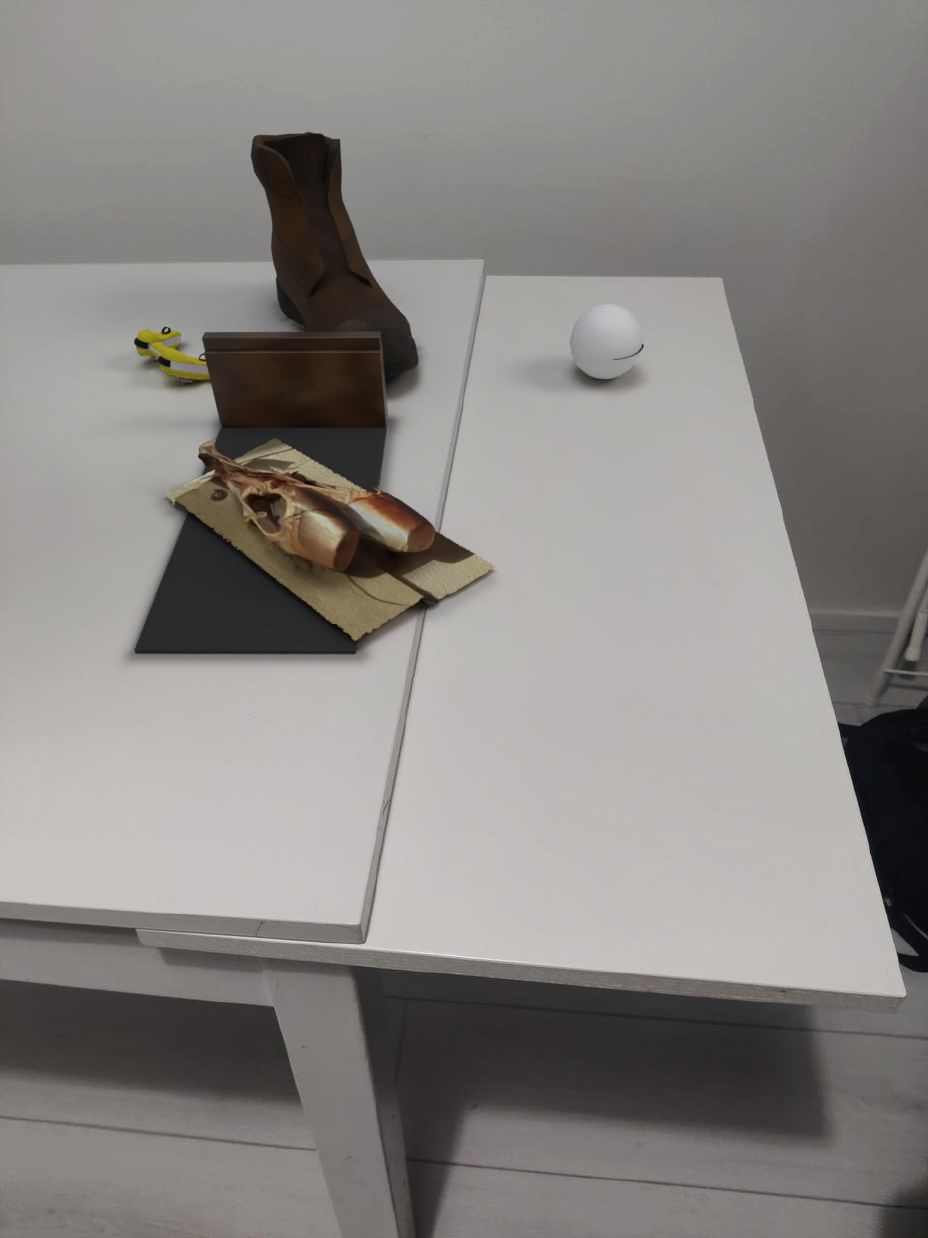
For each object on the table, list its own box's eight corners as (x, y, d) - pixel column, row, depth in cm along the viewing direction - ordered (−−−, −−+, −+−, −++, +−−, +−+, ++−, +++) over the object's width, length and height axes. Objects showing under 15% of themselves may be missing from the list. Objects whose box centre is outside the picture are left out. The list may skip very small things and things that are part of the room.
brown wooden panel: (221, 429, 85) (200, 339, 78) (225, 418, 86) (205, 329, 80) (386, 428, 84) (379, 339, 78) (388, 417, 86) (381, 329, 79)
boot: (350, 411, 87) (326, 201, 73) (256, 296, 106) (223, 112, 92) (449, 384, 90) (444, 179, 76) (341, 277, 109) (322, 97, 95)
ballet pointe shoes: (364, 596, 58) (127, 441, 71) (374, 663, 62) (150, 506, 76) (498, 498, 64) (259, 374, 78) (498, 565, 69) (272, 437, 83)
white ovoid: (595, 400, 88) (602, 330, 83) (553, 368, 92) (557, 301, 87) (673, 374, 91) (684, 306, 86) (629, 345, 96) (637, 279, 91)
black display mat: (135, 653, 63) (134, 650, 63) (221, 430, 84) (220, 427, 84) (355, 653, 63) (355, 650, 63) (386, 430, 84) (386, 427, 84)
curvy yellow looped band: (122, 354, 93) (125, 321, 92) (177, 357, 98) (181, 325, 96) (167, 389, 88) (171, 355, 86) (223, 390, 92) (228, 357, 91)
